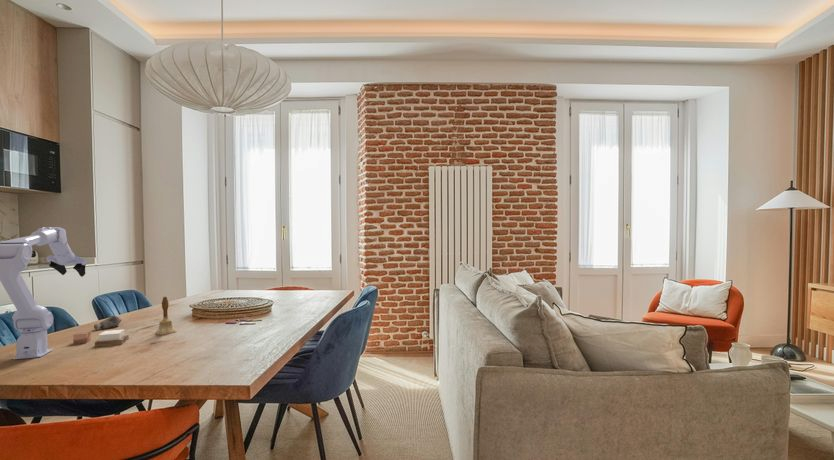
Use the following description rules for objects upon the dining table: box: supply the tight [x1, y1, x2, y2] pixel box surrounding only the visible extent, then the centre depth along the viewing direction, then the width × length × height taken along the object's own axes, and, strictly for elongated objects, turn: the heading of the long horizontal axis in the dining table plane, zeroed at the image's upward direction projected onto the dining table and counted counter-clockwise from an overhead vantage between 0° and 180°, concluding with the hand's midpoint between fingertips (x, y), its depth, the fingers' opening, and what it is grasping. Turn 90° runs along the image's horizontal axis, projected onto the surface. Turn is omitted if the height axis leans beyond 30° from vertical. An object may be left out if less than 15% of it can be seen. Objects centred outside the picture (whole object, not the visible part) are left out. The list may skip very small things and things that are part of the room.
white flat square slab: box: [97, 329, 126, 341], centre depth 170 cm, size 7×7×2 cm
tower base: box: [94, 334, 130, 348], centre depth 170 cm, size 9×9×2 cm
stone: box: [93, 315, 122, 331], centre depth 197 cm, size 10×6×8 cm
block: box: [72, 330, 92, 345], centre depth 172 cm, size 4×4×4 cm
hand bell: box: [154, 296, 177, 336], centre depth 187 cm, size 8×8×16 cm
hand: (73, 274), depth 181 cm, fingers open, 7 cm apart
